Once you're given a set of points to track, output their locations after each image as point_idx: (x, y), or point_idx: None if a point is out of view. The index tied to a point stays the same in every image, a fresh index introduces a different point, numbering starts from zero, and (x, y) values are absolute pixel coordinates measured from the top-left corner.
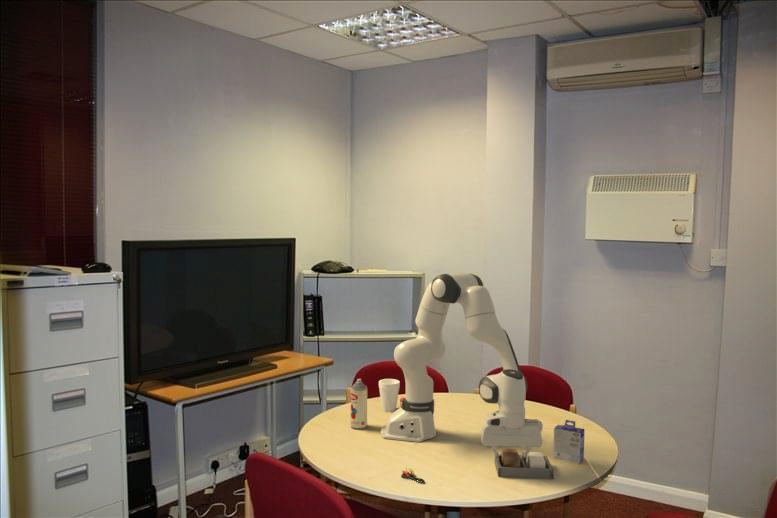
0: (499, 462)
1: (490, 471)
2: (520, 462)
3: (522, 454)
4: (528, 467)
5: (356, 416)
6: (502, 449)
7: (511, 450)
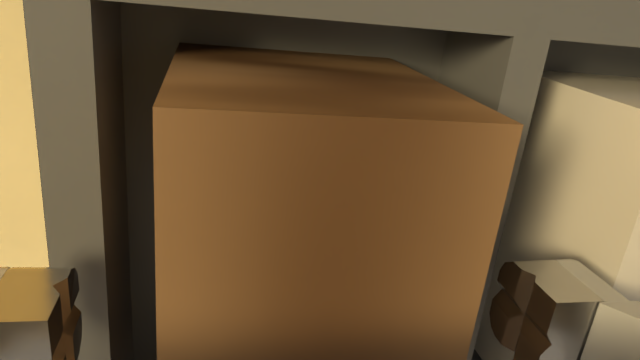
0: (101, 327)
1: (10, 164)
2: None
3: (533, 317)
4: (503, 259)
5: None
6: (159, 205)
7: (373, 245)
